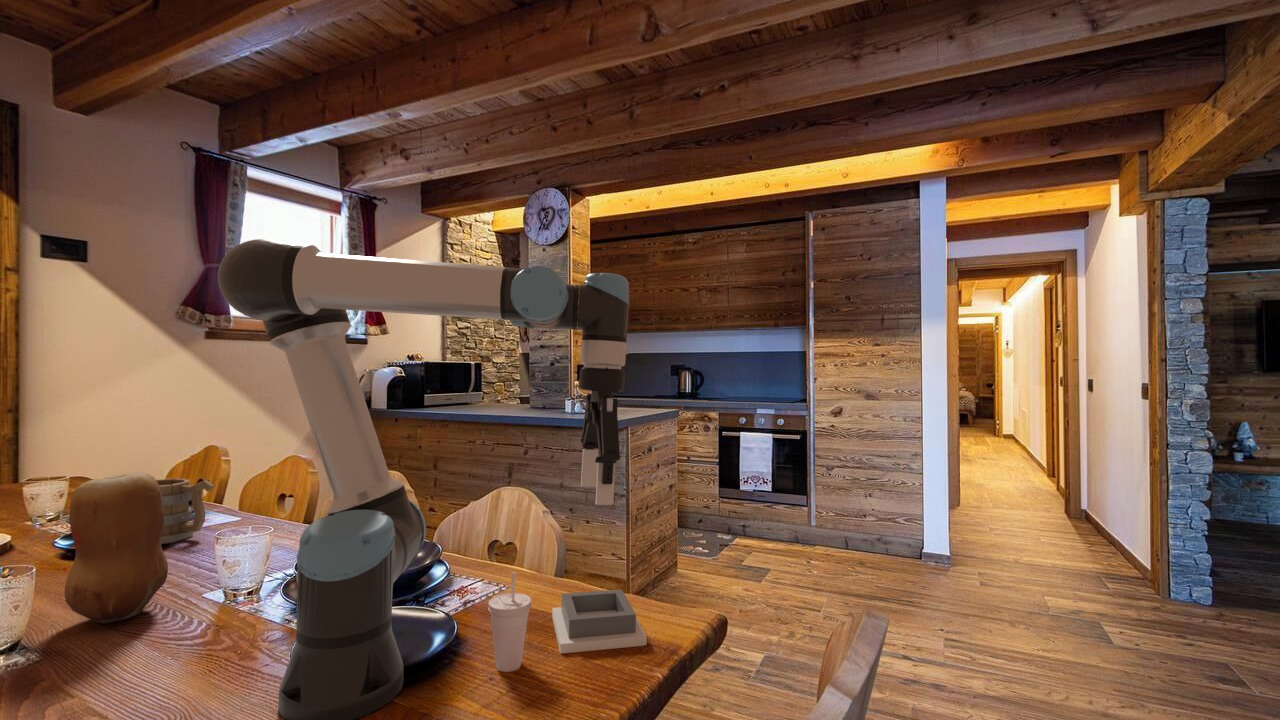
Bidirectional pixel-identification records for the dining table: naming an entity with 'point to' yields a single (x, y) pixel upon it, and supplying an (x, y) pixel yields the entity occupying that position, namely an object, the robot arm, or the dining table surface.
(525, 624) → the smoothie
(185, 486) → the tankard
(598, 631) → the holder
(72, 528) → the butternut squash
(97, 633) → the dining table surface
